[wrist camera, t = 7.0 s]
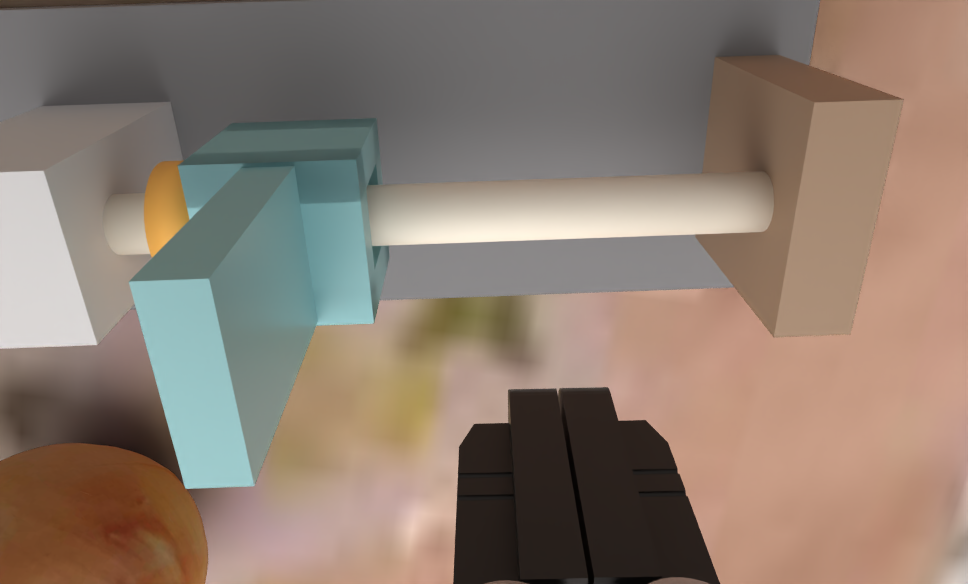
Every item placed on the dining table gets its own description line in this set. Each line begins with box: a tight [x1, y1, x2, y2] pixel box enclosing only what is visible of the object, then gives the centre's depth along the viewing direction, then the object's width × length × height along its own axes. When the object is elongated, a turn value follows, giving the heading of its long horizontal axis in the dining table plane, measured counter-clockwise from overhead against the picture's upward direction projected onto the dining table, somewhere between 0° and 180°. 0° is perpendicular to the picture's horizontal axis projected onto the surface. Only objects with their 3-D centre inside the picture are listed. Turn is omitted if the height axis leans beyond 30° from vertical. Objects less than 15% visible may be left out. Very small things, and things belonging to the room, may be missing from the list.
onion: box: [0, 443, 208, 584], centre depth 26 cm, size 10×10×10 cm
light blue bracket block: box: [129, 118, 390, 489], centre depth 16 cm, size 4×4×10 cm
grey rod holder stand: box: [0, 0, 904, 349], centre depth 20 cm, size 26×10×8 cm, turn 92°
